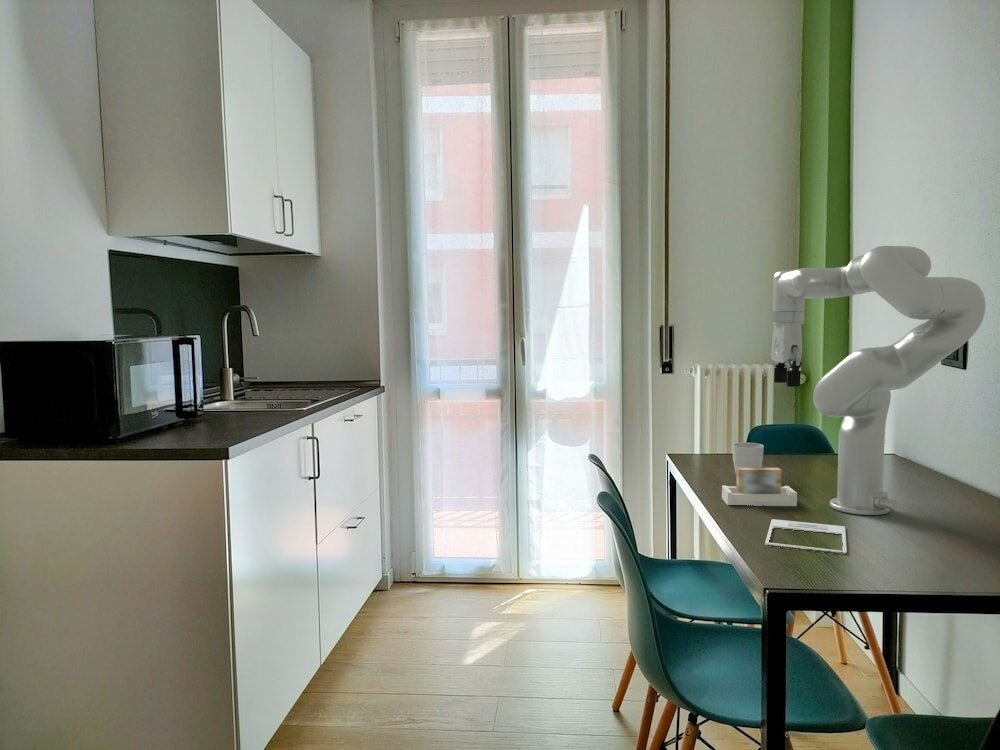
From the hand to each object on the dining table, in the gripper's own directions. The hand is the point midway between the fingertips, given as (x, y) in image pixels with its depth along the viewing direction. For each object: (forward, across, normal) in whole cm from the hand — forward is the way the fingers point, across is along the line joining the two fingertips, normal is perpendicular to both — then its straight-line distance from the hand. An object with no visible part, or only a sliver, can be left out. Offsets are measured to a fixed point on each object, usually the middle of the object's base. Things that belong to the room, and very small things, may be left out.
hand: (786, 384), depth 185 cm
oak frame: (+26, +15, -11) cm, 32 cm away
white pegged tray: (+27, +15, -11) cm, 33 cm away
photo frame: (+28, +42, -10) cm, 52 cm away
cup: (+28, -7, -8) cm, 29 cm away
